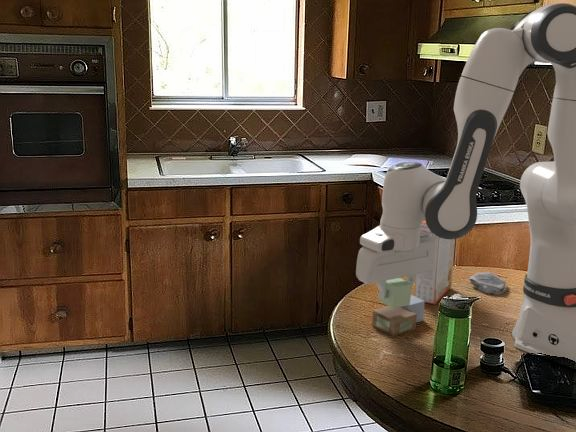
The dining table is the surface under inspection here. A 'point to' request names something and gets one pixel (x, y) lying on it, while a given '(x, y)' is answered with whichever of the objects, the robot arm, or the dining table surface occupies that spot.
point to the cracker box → (436, 271)
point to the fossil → (488, 283)
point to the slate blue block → (416, 307)
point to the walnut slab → (394, 320)
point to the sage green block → (397, 293)
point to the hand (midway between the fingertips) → (394, 295)
